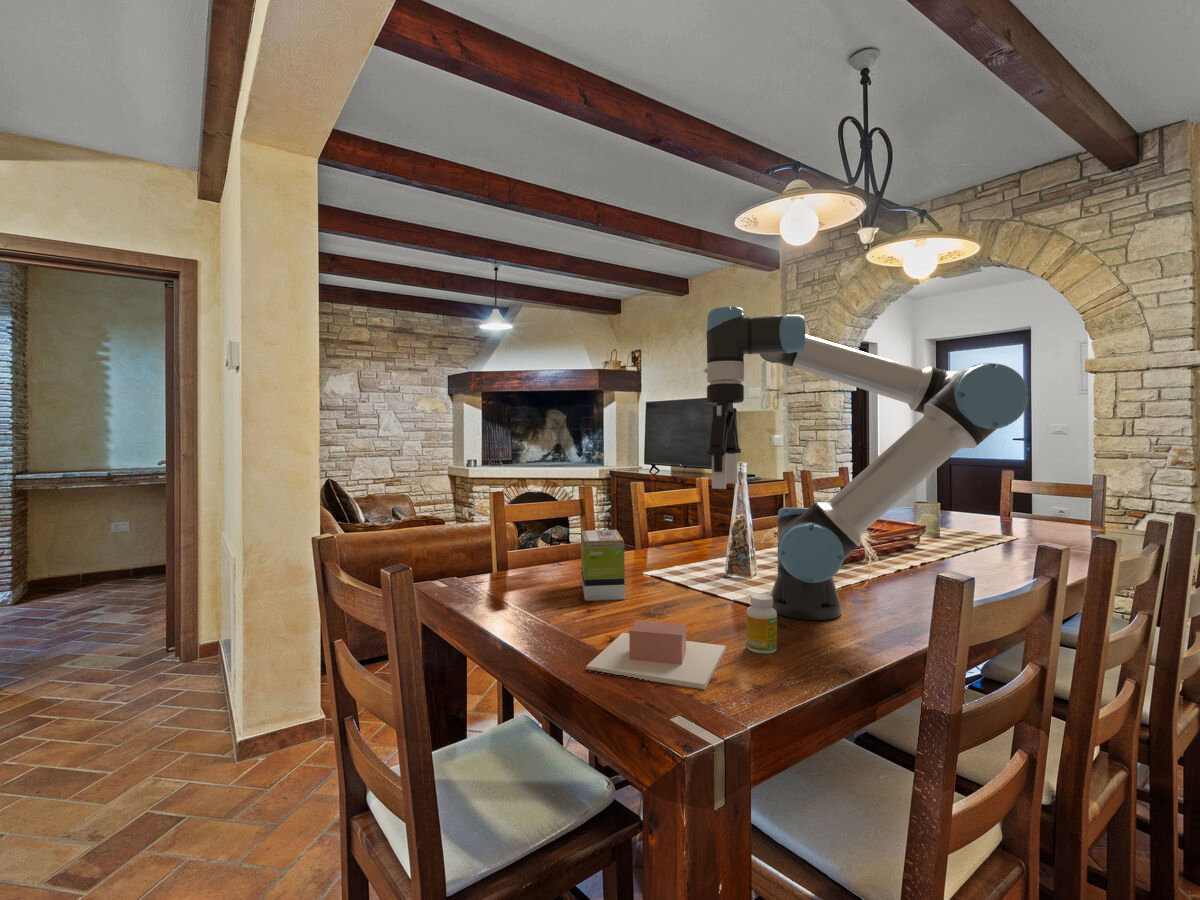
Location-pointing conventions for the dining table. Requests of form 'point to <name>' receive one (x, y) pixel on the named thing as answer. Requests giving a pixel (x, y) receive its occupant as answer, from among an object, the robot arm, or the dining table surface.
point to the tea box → (602, 565)
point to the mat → (661, 664)
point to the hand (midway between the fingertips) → (725, 486)
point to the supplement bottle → (761, 625)
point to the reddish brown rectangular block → (657, 642)
